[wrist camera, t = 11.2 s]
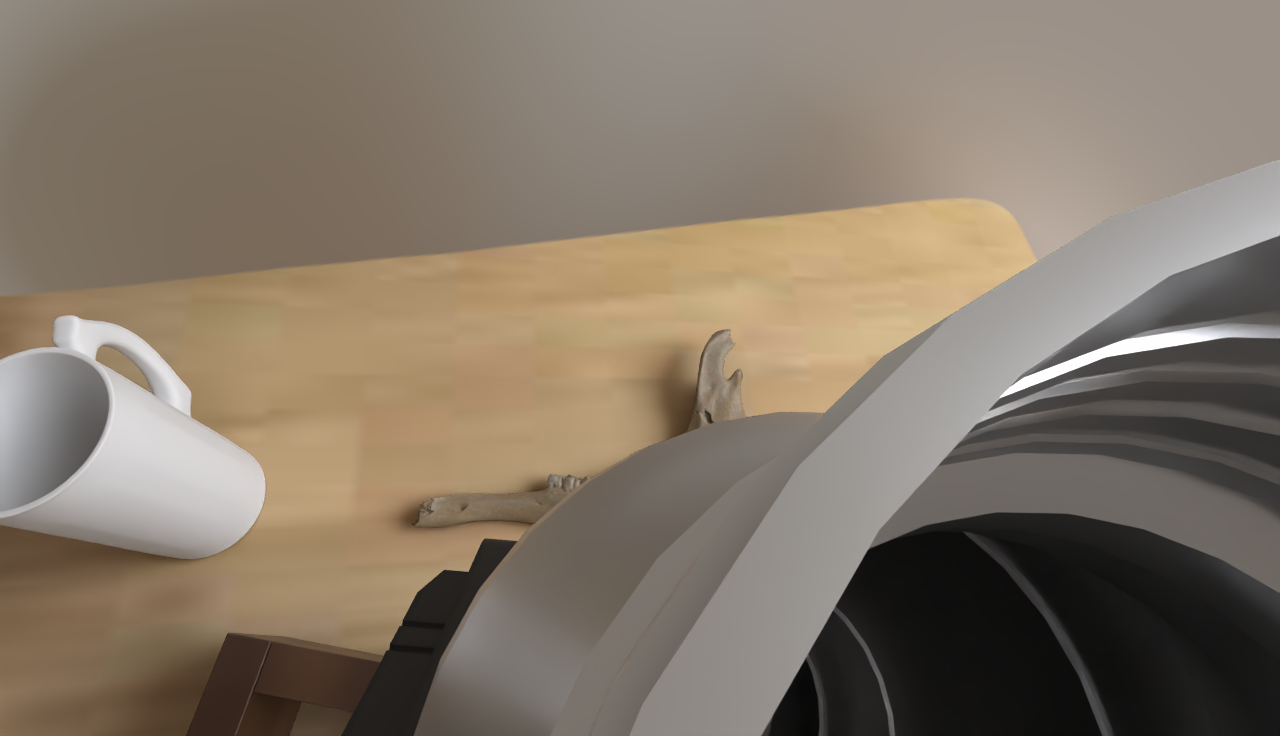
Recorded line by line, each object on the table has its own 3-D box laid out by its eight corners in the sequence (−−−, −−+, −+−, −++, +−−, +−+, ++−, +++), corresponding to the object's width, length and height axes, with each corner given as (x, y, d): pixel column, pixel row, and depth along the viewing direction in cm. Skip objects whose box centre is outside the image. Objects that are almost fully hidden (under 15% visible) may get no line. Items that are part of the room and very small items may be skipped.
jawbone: (810, 461, 37) (822, 454, 35) (489, 671, 33) (482, 675, 31) (722, 336, 40) (728, 322, 38) (411, 515, 35) (400, 510, 33)
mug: (270, 551, 34) (101, 499, 23) (136, 578, 34) (-103, 537, 23) (275, 379, 38) (133, 265, 27) (155, 400, 38) (-40, 292, 27)
